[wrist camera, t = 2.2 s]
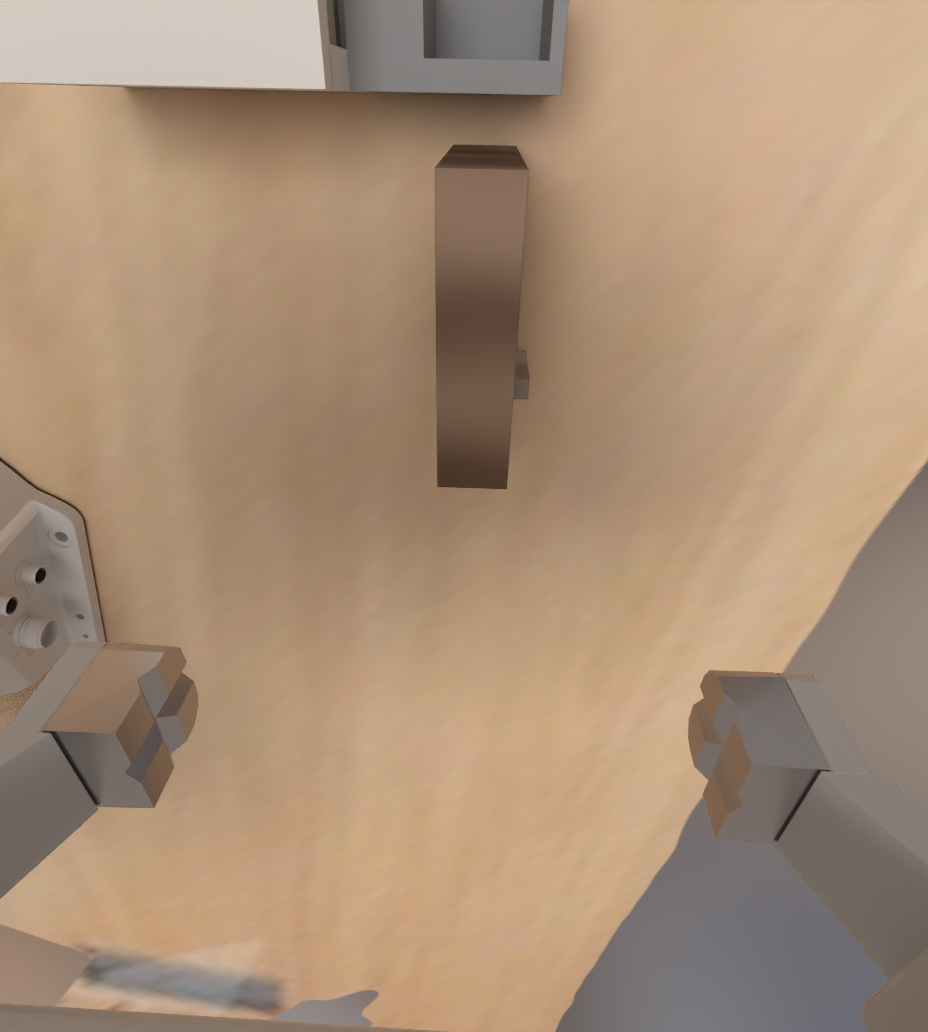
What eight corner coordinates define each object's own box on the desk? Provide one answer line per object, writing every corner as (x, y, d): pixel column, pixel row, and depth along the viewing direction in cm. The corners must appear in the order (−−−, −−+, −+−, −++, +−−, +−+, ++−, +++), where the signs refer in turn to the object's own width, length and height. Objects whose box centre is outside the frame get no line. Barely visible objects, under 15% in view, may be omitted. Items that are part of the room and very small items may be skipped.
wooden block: (519, 382, 36) (529, 489, 26) (452, 380, 36) (437, 486, 26) (536, 146, 29) (560, 170, 19) (453, 144, 29) (434, 168, 19)
